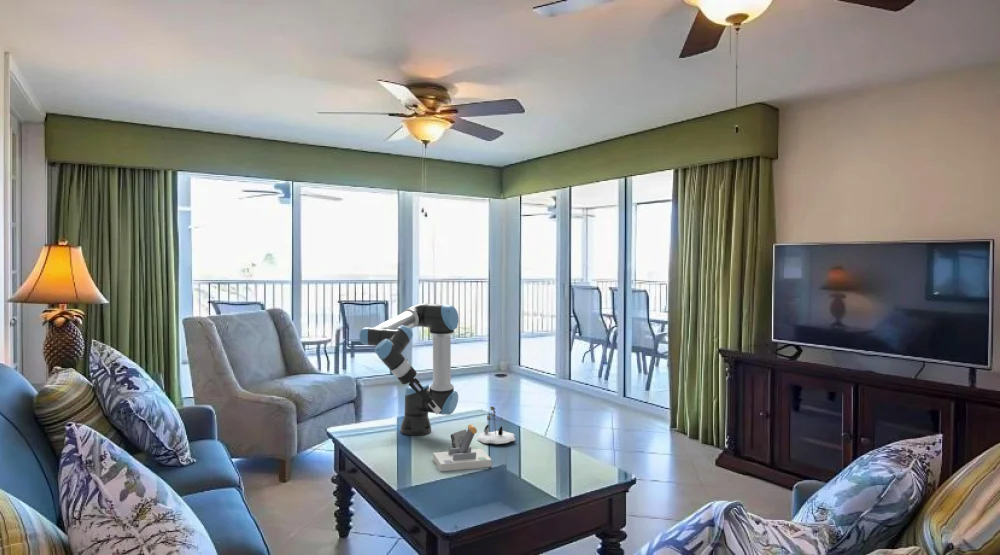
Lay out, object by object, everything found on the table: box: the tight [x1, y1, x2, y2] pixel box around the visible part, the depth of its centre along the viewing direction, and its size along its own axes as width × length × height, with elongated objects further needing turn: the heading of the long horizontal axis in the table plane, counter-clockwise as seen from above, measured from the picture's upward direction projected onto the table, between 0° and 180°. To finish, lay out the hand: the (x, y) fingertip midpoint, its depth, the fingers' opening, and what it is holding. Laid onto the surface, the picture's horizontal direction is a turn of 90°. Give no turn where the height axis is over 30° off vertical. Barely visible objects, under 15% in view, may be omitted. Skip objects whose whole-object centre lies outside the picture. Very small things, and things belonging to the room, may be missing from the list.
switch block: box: [432, 446, 493, 472], centre depth 249 cm, size 14×22×5 cm, turn 110°
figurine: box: [477, 406, 516, 445], centre depth 282 cm, size 20×18×16 cm
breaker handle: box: [458, 423, 478, 453], centre depth 249 cm, size 6×2×13 cm, turn 20°
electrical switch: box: [450, 429, 467, 448], centre depth 267 cm, size 8×5×8 cm, turn 141°
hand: (438, 411), depth 246 cm, fingers closed
